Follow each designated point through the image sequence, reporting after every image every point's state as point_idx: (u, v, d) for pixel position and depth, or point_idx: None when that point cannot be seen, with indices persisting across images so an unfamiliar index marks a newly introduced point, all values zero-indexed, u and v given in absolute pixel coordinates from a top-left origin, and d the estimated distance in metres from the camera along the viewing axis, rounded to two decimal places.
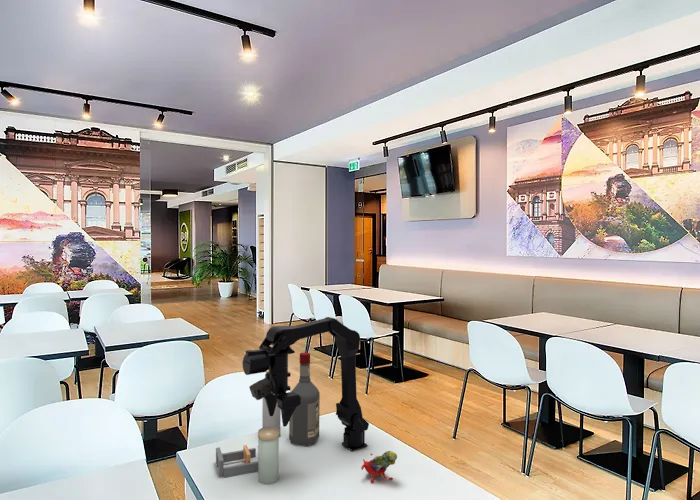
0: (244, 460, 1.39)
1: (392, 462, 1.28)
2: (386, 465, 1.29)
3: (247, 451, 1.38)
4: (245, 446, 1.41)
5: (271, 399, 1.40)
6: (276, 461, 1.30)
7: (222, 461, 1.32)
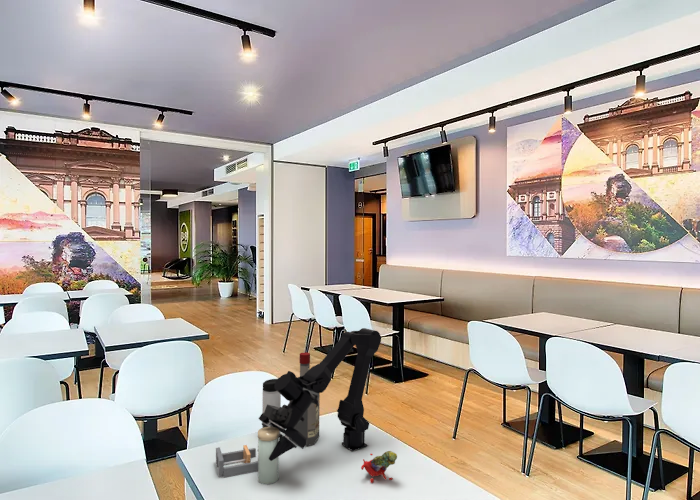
0: (244, 460, 1.39)
1: (392, 462, 1.28)
2: (386, 465, 1.29)
3: (247, 451, 1.38)
4: (245, 446, 1.41)
5: None
6: (276, 461, 1.30)
7: (222, 461, 1.32)
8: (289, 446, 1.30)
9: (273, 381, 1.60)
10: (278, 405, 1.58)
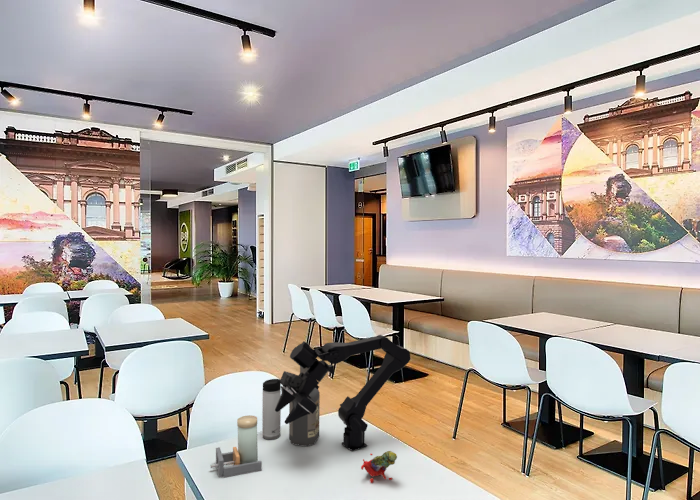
0: (233, 462, 1.37)
1: (392, 462, 1.28)
2: (386, 465, 1.29)
3: (236, 453, 1.37)
4: (235, 448, 1.40)
5: (286, 398, 1.48)
6: (252, 448, 1.37)
7: (222, 461, 1.32)
8: (303, 412, 1.39)
9: (273, 381, 1.60)
10: None
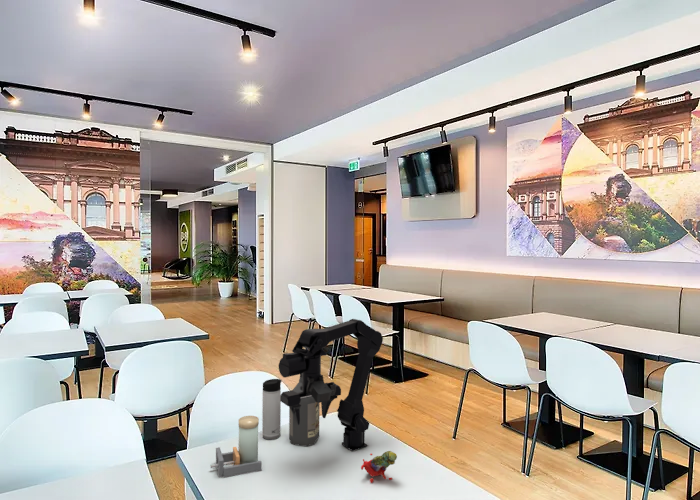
0: (233, 462, 1.37)
1: (392, 462, 1.28)
2: (386, 465, 1.29)
3: (236, 453, 1.37)
4: (235, 448, 1.40)
5: None
6: (253, 449, 1.37)
7: (222, 461, 1.32)
8: None
9: (273, 381, 1.60)
10: (278, 405, 1.58)
